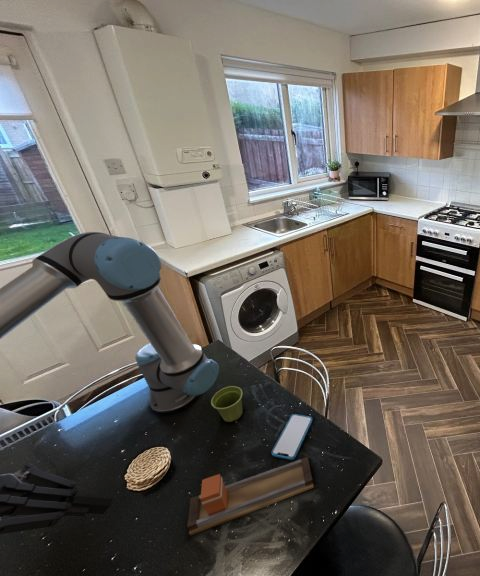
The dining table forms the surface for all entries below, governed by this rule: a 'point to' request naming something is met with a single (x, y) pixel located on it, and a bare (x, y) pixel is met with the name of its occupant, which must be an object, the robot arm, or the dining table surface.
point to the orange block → (214, 494)
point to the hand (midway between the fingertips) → (107, 506)
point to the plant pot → (228, 403)
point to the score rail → (253, 494)
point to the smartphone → (292, 437)
